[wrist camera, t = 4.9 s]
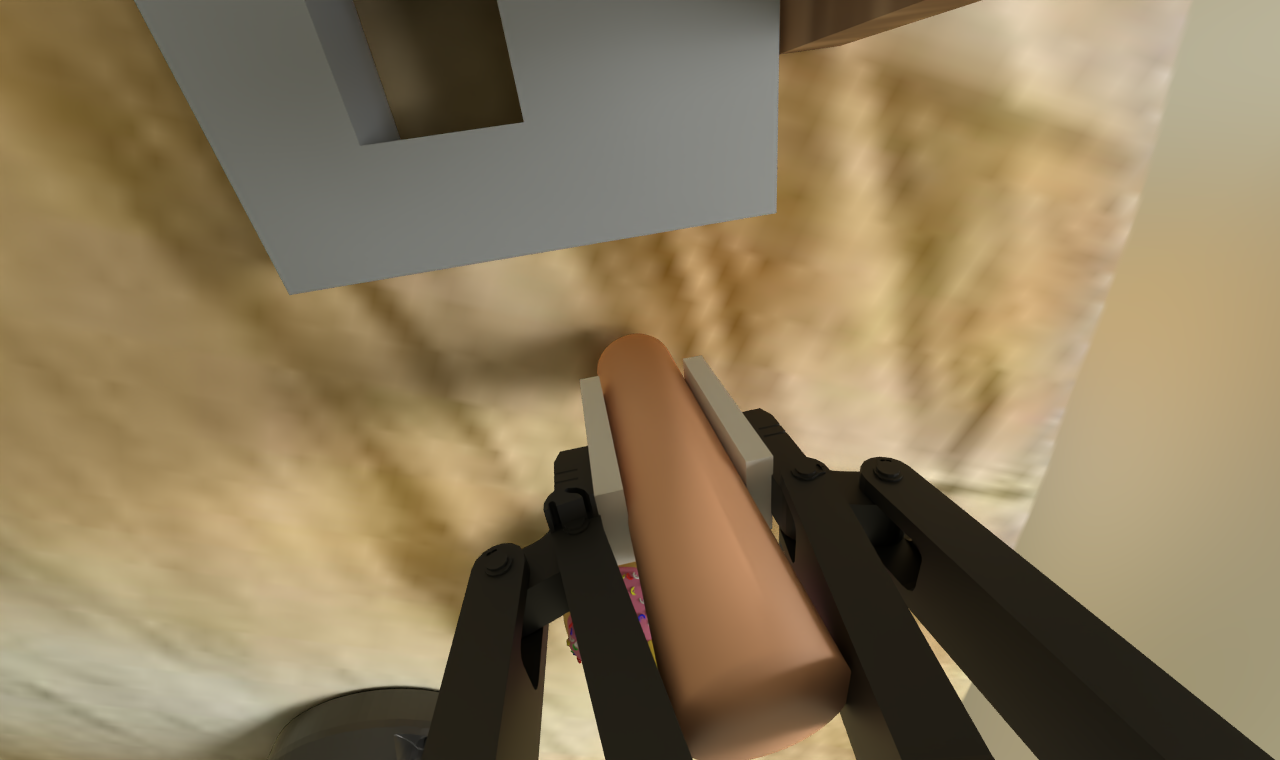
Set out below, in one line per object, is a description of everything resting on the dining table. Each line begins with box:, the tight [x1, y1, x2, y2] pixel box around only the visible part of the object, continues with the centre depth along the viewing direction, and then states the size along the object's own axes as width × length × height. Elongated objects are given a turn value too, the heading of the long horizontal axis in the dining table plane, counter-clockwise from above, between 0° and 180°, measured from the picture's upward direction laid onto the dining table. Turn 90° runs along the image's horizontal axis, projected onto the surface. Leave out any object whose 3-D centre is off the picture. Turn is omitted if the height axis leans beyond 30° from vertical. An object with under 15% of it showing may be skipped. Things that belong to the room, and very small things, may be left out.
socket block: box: [134, 0, 780, 295], centre depth 14 cm, size 16×12×4 cm
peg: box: [597, 334, 851, 760], centre depth 14 cm, size 3×3×14 cm
